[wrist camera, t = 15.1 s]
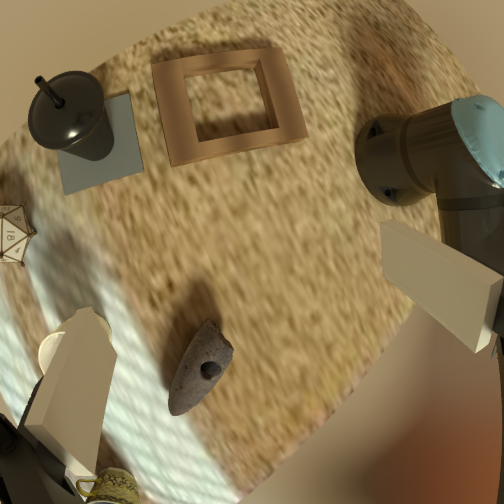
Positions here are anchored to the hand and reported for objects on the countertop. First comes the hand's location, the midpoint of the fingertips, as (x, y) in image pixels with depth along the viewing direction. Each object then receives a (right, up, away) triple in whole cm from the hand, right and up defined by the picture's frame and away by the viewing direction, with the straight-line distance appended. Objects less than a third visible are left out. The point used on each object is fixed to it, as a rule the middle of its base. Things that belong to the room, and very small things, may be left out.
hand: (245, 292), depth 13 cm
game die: (-31, +4, +21) cm, 38 cm away
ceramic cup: (-24, -37, +27) cm, 51 cm away
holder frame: (-3, +21, +26) cm, 34 cm away
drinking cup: (-19, +15, +22) cm, 33 cm away
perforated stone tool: (-8, -14, +29) cm, 33 cm away
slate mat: (-20, +16, +22) cm, 34 cm away
